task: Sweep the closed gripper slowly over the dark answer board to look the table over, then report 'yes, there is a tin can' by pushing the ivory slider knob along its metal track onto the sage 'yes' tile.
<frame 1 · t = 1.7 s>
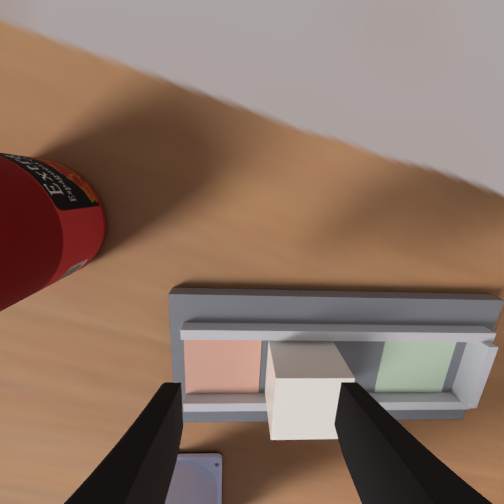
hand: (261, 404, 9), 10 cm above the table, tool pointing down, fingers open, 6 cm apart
canned food: (56, 218, 17), on the table
answer board: (327, 354, 21), on the table
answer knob: (303, 385, 18), point 3 cm above the table, slide at 0.0 cm
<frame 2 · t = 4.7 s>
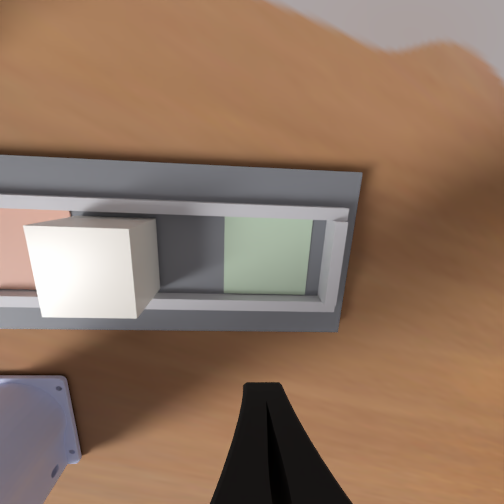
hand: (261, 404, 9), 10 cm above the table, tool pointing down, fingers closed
answer board: (171, 249, 18), on the table
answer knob: (104, 263, 14), point 3 cm above the table, slide at 0.0 cm
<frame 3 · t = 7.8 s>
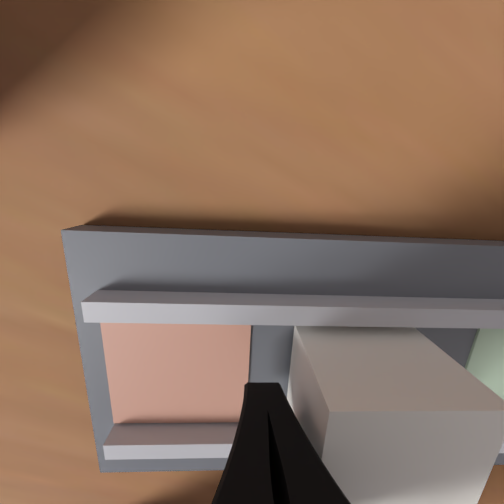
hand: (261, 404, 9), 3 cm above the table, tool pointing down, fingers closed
answer board: (366, 353, 12), on the table
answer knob: (368, 415, 9), point 3 cm above the table, slide at 1.3 cm, touching gripper
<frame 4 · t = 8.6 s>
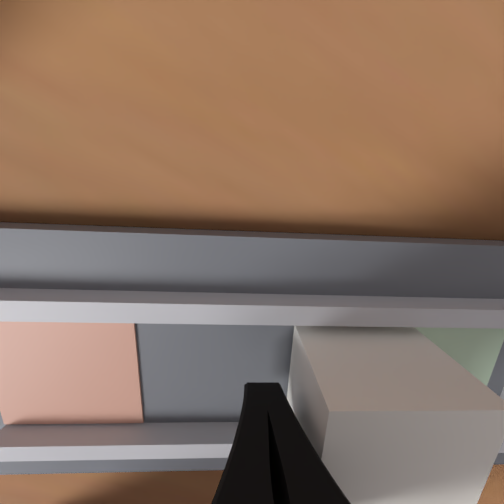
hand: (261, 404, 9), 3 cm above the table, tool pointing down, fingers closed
answer board: (274, 352, 12), on the table
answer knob: (368, 415, 9), point 3 cm above the table, slide at 6.0 cm, touching gripper
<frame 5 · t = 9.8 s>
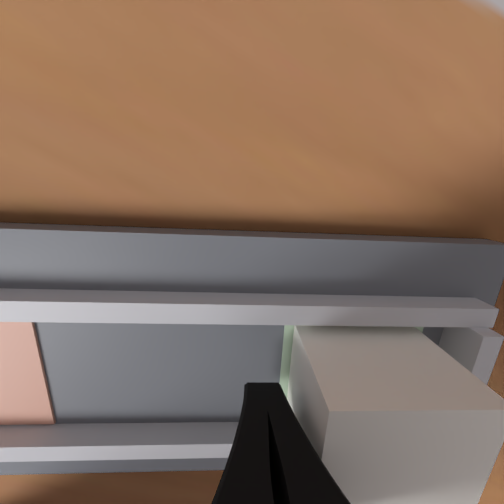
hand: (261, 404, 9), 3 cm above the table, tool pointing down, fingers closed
answer board: (194, 352, 12), on the table
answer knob: (368, 415, 9), point 3 cm above the table, slide at 9.9 cm, touching gripper
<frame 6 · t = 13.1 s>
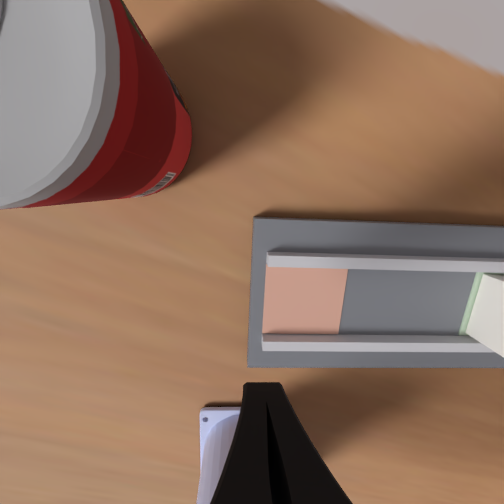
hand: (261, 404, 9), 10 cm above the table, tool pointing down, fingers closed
canned food: (136, 136, 16), on the table
answer board: (407, 295, 20), on the table
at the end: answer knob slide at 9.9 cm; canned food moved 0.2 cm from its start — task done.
